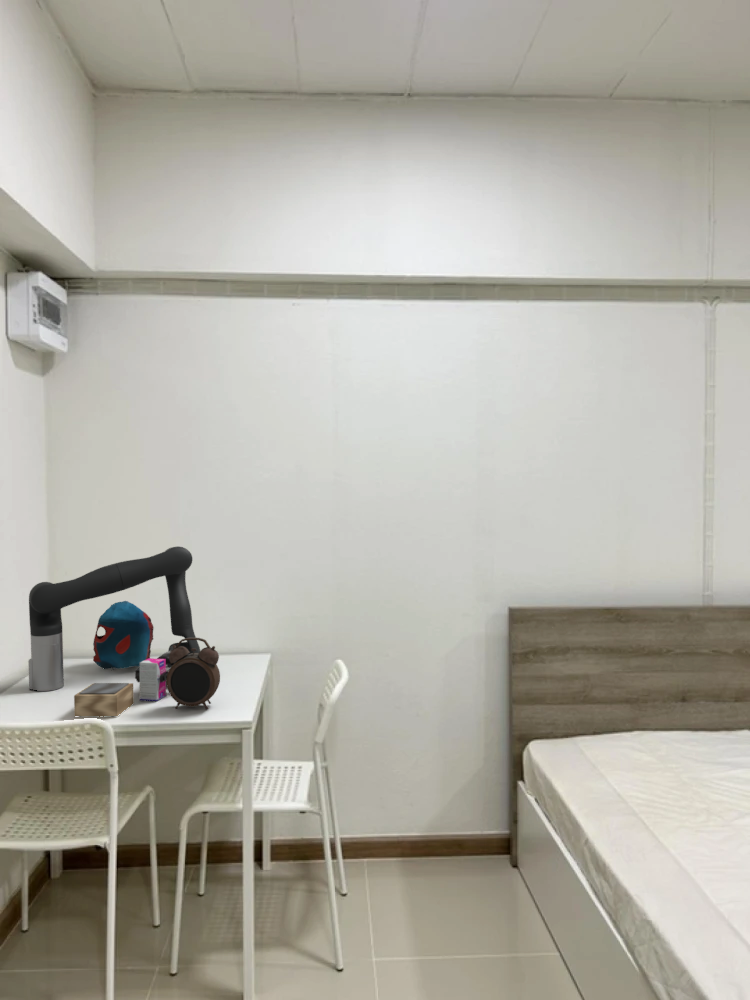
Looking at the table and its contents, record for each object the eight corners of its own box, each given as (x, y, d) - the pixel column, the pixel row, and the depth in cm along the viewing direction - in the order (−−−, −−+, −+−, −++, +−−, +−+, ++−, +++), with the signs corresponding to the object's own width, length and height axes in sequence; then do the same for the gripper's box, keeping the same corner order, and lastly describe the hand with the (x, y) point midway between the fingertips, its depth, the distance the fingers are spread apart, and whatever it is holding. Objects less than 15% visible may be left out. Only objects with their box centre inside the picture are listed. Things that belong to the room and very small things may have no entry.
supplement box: (157, 701, 215) (156, 663, 215) (139, 701, 216) (138, 662, 216) (167, 696, 221) (166, 658, 221) (149, 695, 222) (147, 657, 222)
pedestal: (74, 717, 202) (74, 694, 202) (93, 703, 214) (92, 682, 214) (117, 717, 202) (116, 694, 202) (133, 703, 214) (133, 681, 214)
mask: (102, 688, 255) (73, 622, 256) (153, 663, 268) (126, 600, 269) (119, 681, 242) (89, 611, 243) (172, 655, 255) (143, 589, 256)
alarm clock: (164, 712, 206) (163, 641, 205) (173, 704, 213) (171, 635, 212) (215, 712, 205) (214, 640, 204) (222, 704, 212) (221, 635, 212)
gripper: (145, 653, 233) (125, 666, 216) (190, 652, 232) (173, 666, 216) (146, 676, 233) (126, 691, 216) (191, 676, 233) (174, 691, 216)
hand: (149, 678), depth 216 cm, fingers closed on supplement box, 6 cm apart
